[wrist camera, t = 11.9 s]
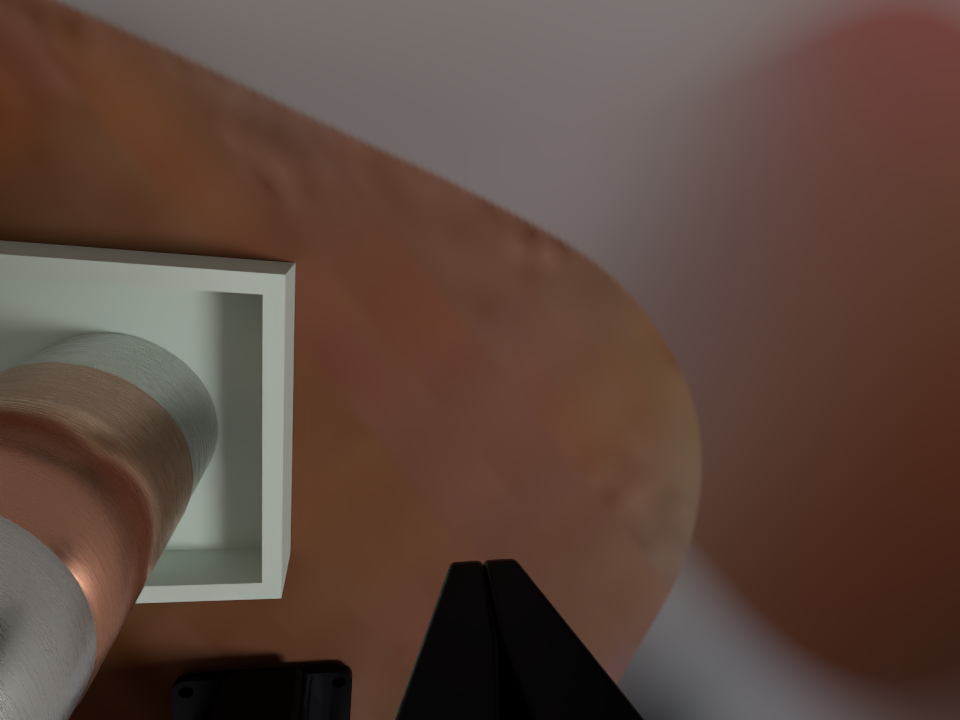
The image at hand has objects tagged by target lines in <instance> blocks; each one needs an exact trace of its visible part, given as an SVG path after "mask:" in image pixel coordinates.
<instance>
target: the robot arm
mask: <svg viewBox="0 0 960 720" xmlns="http://www.w3.org/2000/svg"><path fill="white" fill-rule="evenodd" d="M339 677H340V678H343V679H341V680H336V679H335V678H339ZM183 687H190V688H191V689H185V688H183ZM351 690H352V671H351V669H350V668H349V667H348V666H346V665H341V664H337V665H320V666H303V667H285V668H268V669H250V670H233V671H215V672H198V673H186V674H182V675H181V676H179V677H178V678H177V679H176V680H175V683H174V686H173V688H172V692H171V698H172V719H173V720H350V709H351ZM395 720H644V719H643V717H642V716H641V715H640V714H639V712H638V711H637V710H636V709H635V707H633V705H632V704H631V702H630V701H629V700H628V699H627V697H626V696H625V695H624V694H623V693H622V691H621V690H620V689H619V687H618V686H617V685H616V684H615V682H614V681H613V680H612V679H611V677H610V676H609V675H608V674H607V673H606V671H605V670H604V669H603V668H602V666H601V665H600V664H599V663H598V661H597V660H596V659H595V658H594V656H593V655H592V654H591V653H590V651H589V650H588V649H587V648H586V646H585V645H584V644H583V643H582V641H581V640H580V639H579V638H578V636H577V635H576V634H575V633H574V631H573V630H572V629H571V628H570V626H569V625H568V624H567V623H566V622H565V620H564V619H563V618H562V617H561V615H560V614H559V613H558V612H557V610H556V609H555V608H554V607H553V605H552V604H551V603H550V602H549V600H548V599H547V598H546V597H545V595H544V594H543V593H542V592H541V590H540V589H539V588H538V587H537V585H536V584H535V583H534V582H533V580H532V579H531V578H530V577H529V575H528V574H527V573H526V572H525V571H524V569H523V568H522V567H521V566H520V564H519V563H518V562H517V561H516V560H514V559H498V560H487V561H486V562H485V563H484V564H482V563H481V562H480V561H465V562H454V563H452V564H451V565H450V567H449V569H448V572H447V574H446V577H445V580H444V583H443V586H442V588H441V591H440V594H439V597H438V600H437V603H436V605H435V608H434V611H433V614H432V617H431V619H430V622H429V625H428V628H427V631H426V633H425V636H424V639H423V642H422V645H421V648H420V650H419V653H418V656H417V659H416V662H415V664H414V667H413V670H412V673H411V676H410V678H409V681H408V684H407V687H406V690H405V693H404V695H403V698H402V701H401V704H400V707H399V709H398V712H397V715H396V718H395Z"/></svg>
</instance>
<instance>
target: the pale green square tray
mask: <svg viewBox="0 0 960 720" xmlns="http://www.w3.org/2000/svg"><path fill="white" fill-rule="evenodd" d="M294 311H295V263H290V262H277V261H264V260H251V259H238V258H225V257H212V256H199V255H186V254H173V253H160V252H147V251H134V250H121V249H107V248H94V247H81V246H68V245H55V244H42V243H29V242H16V241H3V240H0V372H1V371H3V370H6V369H8V368H10V367H11V366H13V365H15V364H17V363H19V362H21V361H22V360H24V359H26V358H28V357H30V356H31V355H33V354H35V353H37V352H39V351H40V350H42V349H44V348H46V347H48V346H50V345H52V344H54V343H55V342H58V341H61V340H63V339H66V338H69V337H73V336H78V335H82V334H91V333H114V334H122V335H128V336H132V337H136V338H140V339H143V340H146V341H148V342H151V343H154V344H156V345H158V346H160V347H162V348H164V349H166V350H167V351H169V352H170V353H172V354H173V355H175V356H177V357H178V358H179V359H180V360H182V361H183V362H184V363H185V364H186V365H188V366H189V367H190V368H191V369H192V370H193V372H194V373H195V374H196V375H197V376H198V377H199V379H200V380H201V381H202V383H203V384H204V385H205V387H206V389H207V391H208V393H209V394H210V396H211V399H212V401H213V404H214V407H215V411H216V415H217V422H218V438H217V444H216V448H215V452H214V454H213V457H212V459H211V462H210V463H209V465H208V467H207V469H206V471H205V473H204V474H203V476H202V478H201V480H200V482H199V483H198V485H197V487H196V489H195V491H194V493H193V494H192V496H191V498H190V501H189V503H188V506H187V508H186V511H185V513H184V515H183V516H182V518H181V520H180V522H179V524H178V526H177V527H176V529H175V531H174V533H173V535H172V537H171V538H170V540H169V542H168V544H167V546H166V548H165V549H164V551H163V553H162V555H161V557H160V559H159V560H158V562H157V564H156V566H155V568H154V570H153V571H152V573H151V575H150V577H149V579H148V581H147V582H146V584H145V586H144V588H143V590H142V592H141V593H140V595H139V597H138V599H137V601H136V603H157V602H186V601H215V600H244V599H273V598H281V597H282V592H283V587H284V582H285V577H286V572H287V567H288V562H289V557H290V543H291V485H292V427H293V369H294Z"/></svg>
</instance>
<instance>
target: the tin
mask: <svg viewBox="0 0 960 720" xmlns="http://www.w3.org/2000/svg"><path fill="white" fill-rule="evenodd" d="M217 438H218V422H217V415H216V411H215V407H214V404H213V401H212V399H211V396H210V394H209V393H208V391H207V389H206V387H205V385H204V384H203V383H202V381H201V380H200V379H199V377H198V376H197V375H196V374H195V373H194V372H193V370H192V369H191V368H190V367H189V366H188V365H186V364H185V363H184V362H183V361H182V360H180V359H179V358H178V357H177V356H175V355H173V354H172V353H170V352H169V351H167V350H166V349H164V348H162V347H160V346H158V345H156V344H154V343H151V342H148V341H146V340H143V339H140V338H136V337H132V336H128V335H122V334H114V333H91V334H82V335H78V336H73V337H69V338H66V339H63V340H61V341H58V342H55V343H54V344H52V345H50V346H48V347H46V348H44V349H42V350H40V351H39V352H37V353H35V354H33V355H31V356H30V357H28V358H26V359H24V360H22V361H21V362H19V363H17V364H15V365H13V366H11V367H10V368H8V369H6V370H3V371H1V372H0V720H68V719H69V718H70V716H71V714H72V712H73V711H74V709H75V708H76V707H77V706H78V705H79V703H80V702H81V700H82V699H83V697H84V695H85V694H86V692H87V690H88V689H89V687H90V685H91V683H92V682H93V680H94V678H95V676H96V674H97V672H98V671H99V669H100V667H101V665H102V663H103V661H104V660H105V658H106V656H107V654H108V652H109V650H110V649H111V647H112V645H113V643H114V641H115V639H116V638H117V636H118V634H119V632H120V630H121V628H122V627H123V625H124V623H125V621H126V619H127V617H128V616H129V614H130V612H131V610H132V608H133V606H134V605H135V603H136V601H137V599H138V597H139V595H140V593H141V592H142V590H143V588H144V586H145V584H146V582H147V581H148V579H149V577H150V575H151V573H152V571H153V570H154V568H155V566H156V564H157V562H158V560H159V559H160V557H161V555H162V553H163V551H164V549H165V548H166V546H167V544H168V542H169V540H170V538H171V537H172V535H173V533H174V531H175V529H176V527H177V526H178V524H179V522H180V520H181V518H182V516H183V515H184V513H185V511H186V508H187V506H188V503H189V501H190V498H191V496H192V494H193V493H194V491H195V489H196V487H197V485H198V483H199V482H200V480H201V478H202V476H203V474H204V473H205V471H206V469H207V467H208V465H209V463H210V462H211V459H212V457H213V454H214V452H215V448H216V444H217Z"/></svg>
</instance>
